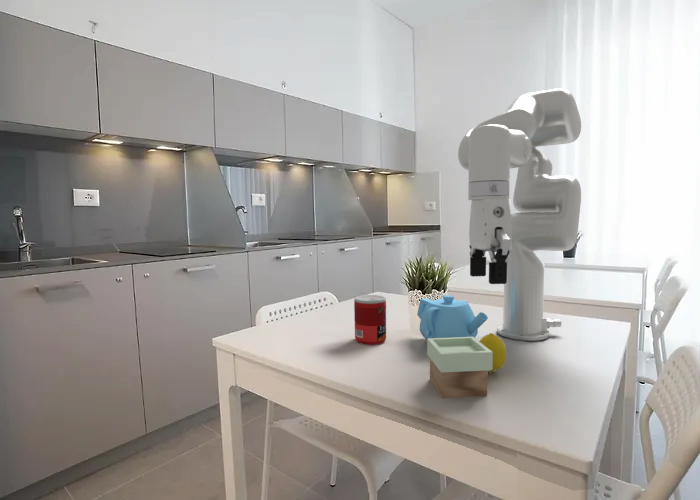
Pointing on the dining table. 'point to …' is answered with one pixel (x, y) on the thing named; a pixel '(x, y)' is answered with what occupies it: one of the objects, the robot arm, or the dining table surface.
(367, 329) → the canned food
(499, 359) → the lemon
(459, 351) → the sage top block
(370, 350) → the dining table surface
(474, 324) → the teapot
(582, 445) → the dining table surface
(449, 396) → the walnut block
